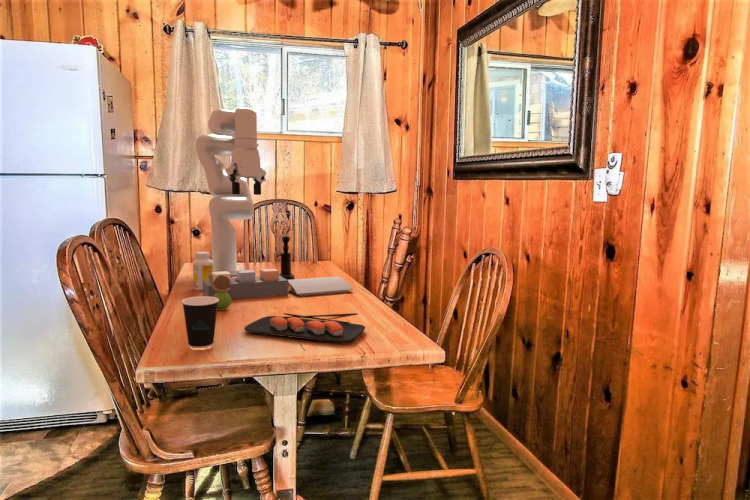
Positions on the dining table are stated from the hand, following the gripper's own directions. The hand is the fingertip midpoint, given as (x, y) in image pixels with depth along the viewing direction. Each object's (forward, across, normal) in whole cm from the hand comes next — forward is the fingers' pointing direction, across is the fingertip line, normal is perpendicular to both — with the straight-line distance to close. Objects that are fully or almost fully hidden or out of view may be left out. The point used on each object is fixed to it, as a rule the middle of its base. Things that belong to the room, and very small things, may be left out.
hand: (247, 194), depth 177 cm
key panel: (+34, +8, +8) cm, 36 cm away
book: (+34, -13, +21) cm, 42 cm away
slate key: (+30, +8, +8) cm, 32 cm away
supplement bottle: (+33, +11, -10) cm, 37 cm away
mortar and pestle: (+33, -18, +1) cm, 38 cm away
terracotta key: (+30, +1, +12) cm, 32 cm away
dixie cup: (+36, +52, +42) cm, 75 cm away
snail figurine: (+35, +27, +18) cm, 47 cm away
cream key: (+30, +15, +4) cm, 34 cm away
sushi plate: (+36, +21, +50) cm, 65 cm away
